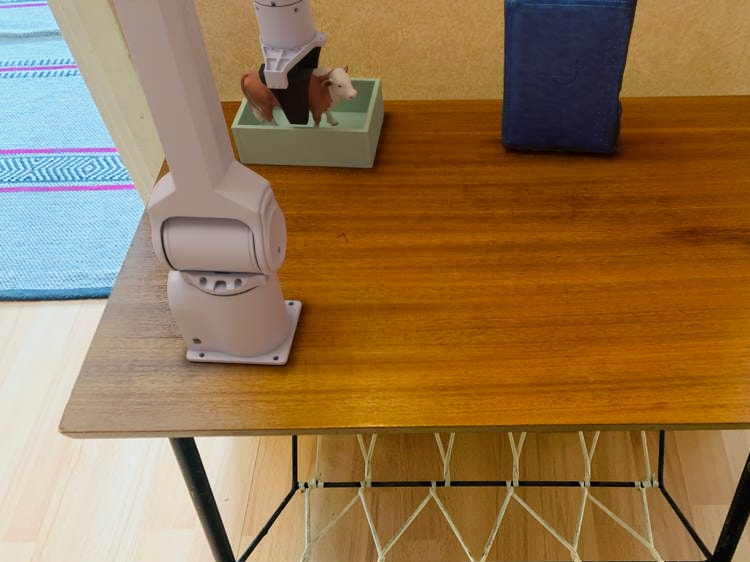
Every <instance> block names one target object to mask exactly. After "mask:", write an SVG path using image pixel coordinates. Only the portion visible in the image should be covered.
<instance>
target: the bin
mask: <svg viewBox="0 0 750 562" xmlns="http://www.w3.org/2000/svg"><path fill="white" fill-rule="evenodd" d="M350 81H351V85H352V87H353V89H354V90H356V91H357V96H356V97H355V98H353V99H351V100H347V99H346V98H345V99H342V98H341V99H340V102H339V103H338V105H337V106H335V107H334V109H333V110H331V114H332V116H333V117H334V118H335V119H336V120H337V121H338V122H339V124H338V125H337V126H331V124H330V123H327V116H326V114H325V113H323V114H322V116H321V122H320V124H319V125H320V127H314V121H313V118H312V113H311V111H310V110H309V121H308V124H307V125H292V124H290V123H289V121H288V120H287V118H286V116H285V114H284V112H283V110H282V109H281V108H279V107H277V106H275V107H273V118H274V120H275V121H276V123H277V124H278V125H279V126H271V125H270V124H269V123H268V122H267V121H266V120H265V123H264V124H261V123H260V122H259V121H258V120H257V118H256V117H255V115H254V113H253V111H252V108H251V106H250V104H249V102H248V101H247V99H246V98H245V96H243V99H242V101H241V104H240V106H239V108H238V110H237V112H236V115H235V117H234V119H233V122H232V124H231V126H230V128H231V132H232V136H233V139H234V143H235V146H236V151H237V153H238V157H239V160H240V163H241V164H242V165H244V164H245V165H271V166H272V165H273V166H274V165H277V166H303V167H304V166H305V167H335V168H360V169H361V168H363V169H372V168H373V165H374V163H375V162H374V161H375V157H376V154H377V153H376V152H377V148H378V144H379V140H380V136H381V135H380V134H381V130H382V127H383V126H382V125H383V121H384V117H385V108H384V97H383V96H384V95H383V88H382V87H383V86H382V79H381V78H379V77H378V78H376V77H350ZM250 100H251V99H250ZM251 101H252V100H251ZM252 103H253V104H254V105H255V106H256V107H257V108H258V106H257V105H256V104H255V103H254V102H253V101H252Z"/></svg>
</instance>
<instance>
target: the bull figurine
mask: <svg viewBox="0 0 750 562" xmlns="http://www.w3.org/2000/svg"><path fill="white" fill-rule="evenodd" d="M348 70H349V65H345V67H344V68H342V67H336V68H334V69H332V68H330V67H327V66H318V68H316V69H314V71H313V73H312V76H311V80H310V85H309V110H310V111H311V113H312V118H313V121H314V127H320V125H319V124H320V122H321V116H322V114H323V113H325V114H326V116H327V123H330V124H331V126H337V125H338V124H339V122H338V121H337V120H336V119H335V118H334V117H333V116H332V114H331V110H333V109H334V107H335V106H337V105H338V103H339V102H340V99H341V98H342V99H345V98H346V99H347V100H351V99H353V98H355V97H356V96H357V91H356V90H354V89H353V87H352V85H351V81H350V78H351V77H350V75H349V74H348ZM258 71H259V70H248V71H245V72H244V73H243V74H242V75H241V77H240V89H241V91H242V94H243V97H245V98H246V99H247V101H248V102H249V104H250V106H251V108H252V111H253V113H254V115H255V117H256V118H257V120H258V121H259V122H260V123H261V124H264V123H265V120H266V121H267V122H268V123H269V124H270V125H271V126H279V125H278V124H277V123H276V121H275V120H274V118H273V107H275V106H277V107H279V108H281V106H280V104H279V102H278V101H277V99H276V98H275V96H274V95H273V93H272V92H271V91H270V90H269V89H268V88H267V87H266V86H265V85H264V84H263V83H262V82H261V80H260V78H259V73H258ZM250 99H251V100H252V101H253V102H254V103H255V104H256V105H257V106H258V108H257V107H256V106H255V105H254V104H253V103H252V101H251V100H250ZM281 109H282V108H281Z"/></svg>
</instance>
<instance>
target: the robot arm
mask: <svg viewBox="0 0 750 562" xmlns="http://www.w3.org/2000/svg"><path fill="white" fill-rule="evenodd" d="M112 2H113V5H114V7H115V11H116V15H117V17H118V20H119V23H120V26H121V29H122V32H123V35H124V38H125V41H126V44H127V46H128V49H129V52H130V56H131V58H132V62H133V65H134V68H135V71H136V73H137V77H138V80H139V83H140V86H141V90H142V92H143V95H144V98H145V101H146V104H147V107H148V110H149V112H150V116H151V119H152V122H153V125H154V128H155V131H156V134H157V137H158V139H159V143H160V145H161V148H162V152H163V154H164V158H165V161H166V163H167V166H168V170H169V171H168V172H167V173H166V174H165V175H163V176H162V177H161V178H159V180H158V181H157V182H156V184H155V185H154V187H153V188H152V190H151V193H150V195H149V198H148V201H147V205H146V210H147V213H148V218H149V222H150V228H151V241H152V243H151V244H152V247H153V250H154V253H155V257H156V259H158V261H159V262H160V264H161V265H162V267H163V268H165V269H166V270H167V271H169V272H168V275H167V283H166V294H167V303H168V305H169V309H170V313H171V315H172V317H173V320H174V321H175V323H176V325H177V328H178V330H179V333H180V334H181V337H182V339H183V341H184V343H185V346H186V348H187V352H186V354H185V357H186V359H187V361H189V362H200V363H201V362H203V363H226V364H227V363H228V364H250V365H251V364H252V365H272V366H273V365H275V366H282V365H283V366H284V365H285V364H287V362H288V359H289V356H290V352H291V348H292V344H293V340H294V336H295V333H296V330H297V326H298V322H299V319H300V315H301V311H302V308H303V305H302V302H301V301H300V300H292V299H291V300H289V299H285V297H284V293H283V290H282V286H281V283H280V278H279V276H278V271H279V269H280V268H281V267H282V266H283V264H284V261H285V257H286V252H287V244H288V243H287V242H288V241H287V240H288V239H287V235H288V234H287V224H286V219H285V216H284V212H283V210H282V209H281V207H280V206H279V204H278V202H277V199H276V197H275V194H274V190H273V189H272V187H271V182H270V181H269V180H267V179H266V178H265V177H263V176H261V175H260V174H259V173H257V172H255V170H252V169H250V168H249V167H248V166H245V165H244V164H242V163H241V162H239V160H237V159H236V157H235V153H234V150H233V145H232V141H231V137H230V134H229V129H228V125H227V122H226V119H225V114H224V110H223V107H222V103H221V99H220V94H219V91H218V88H217V83H216V80H215V76H214V71H213V67H212V63H211V60H210V56H209V52H208V48H207V45H206V40H205V36H204V33H203V29H202V25H201V21H200V18H199V14H198V9H197V5H196V2H195V0H112ZM252 4H253V9H254V13H255V17H256V22H257V26H258V31H259V35H258V36H259V37H258V38H259V39H258V40H259V44H260V48H261V53H262V56H263V60H264V63H261V65H260V67H259V69H258V70H257V71H258V73H259V78H260V80H261V82H262V83H263V84H264V85H265V86H266V87H267V88H268V89H269V90H270V91H271V92H272V93H273V95H274V96H275V98H276V99H277V101H278V102H279V104H280V106H281V108H282V110H283V112H284V114H285V116H286V118H287V120H288V121H289V123H290V124H292V125H307V124H308V121H309V85H310V80H311V76H312V73H313V71H314V69H316V68H319V63H320V62H319V61H320V55H321V51H322V47H324V46H326V43H327V42H328V35H327V31H324V30H317V27H316V25H315V22H314V17H313V11H312V5H311V0H252Z"/></svg>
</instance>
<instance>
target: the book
mask: <svg viewBox="0 0 750 562" xmlns="http://www.w3.org/2000/svg"><path fill="white" fill-rule="evenodd" d="M638 1H639V0H503V22H504V28H503V29H504V30H503V69H502V70H503V83H502V85H503V88H502V89H503V91H502V108H501V109H502V110H501V125H500V126H501V128H500V129H501V130H500V131H501V146H502V147H503V148H505V149H513V150H518V151H534V152H558V153H570V152H571V153H594V154H612V153H614V152H616V151H617V148H618V144H619V140H620V139H619V138H620V136H621V131H622V116H623V104H622V101H621V100H620V95H621V92H622V88H623V82H624V74H625V69H626V66H627V60H628V54H629V48H630V42H631V37H632V32H633V27H634V23H635V18H636V11H637V6H638Z"/></svg>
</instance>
